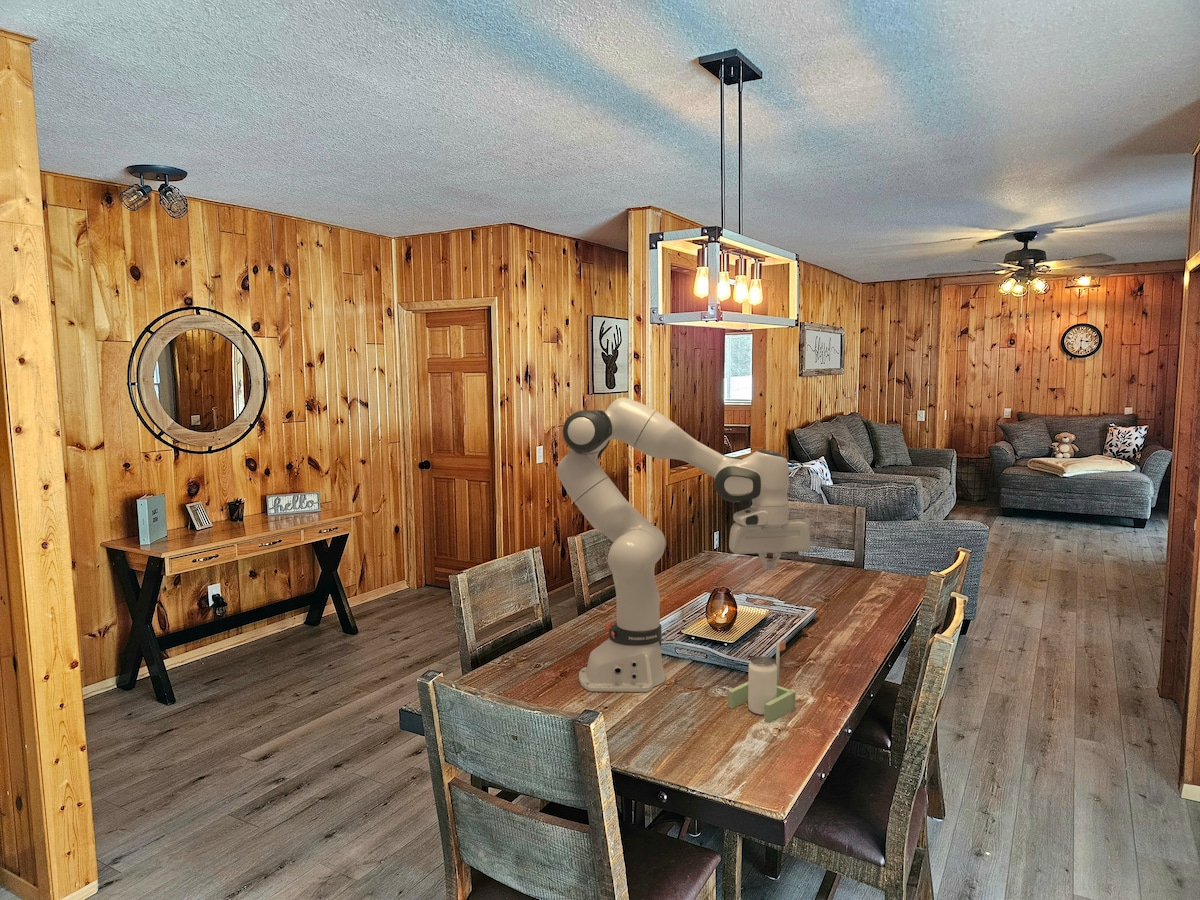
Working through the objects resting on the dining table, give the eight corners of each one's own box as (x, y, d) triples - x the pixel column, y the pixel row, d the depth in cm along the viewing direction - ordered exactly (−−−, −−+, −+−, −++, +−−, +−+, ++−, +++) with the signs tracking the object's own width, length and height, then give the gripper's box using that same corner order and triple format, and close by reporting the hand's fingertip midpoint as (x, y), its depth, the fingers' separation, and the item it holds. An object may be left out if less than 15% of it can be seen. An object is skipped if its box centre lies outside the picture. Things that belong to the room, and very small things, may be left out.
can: (778, 706, 184) (779, 657, 183) (773, 717, 178) (774, 667, 177) (750, 702, 187) (751, 653, 185) (745, 713, 181) (746, 663, 179)
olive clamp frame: (768, 722, 176) (769, 662, 174) (728, 707, 184) (728, 649, 183) (804, 702, 186) (805, 646, 184) (764, 688, 194) (765, 634, 193)
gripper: (804, 511, 199) (803, 564, 200) (727, 514, 196) (726, 568, 197) (815, 516, 193) (814, 570, 194) (735, 519, 190) (734, 574, 191)
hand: (769, 569), depth 196 cm, fingers closed
